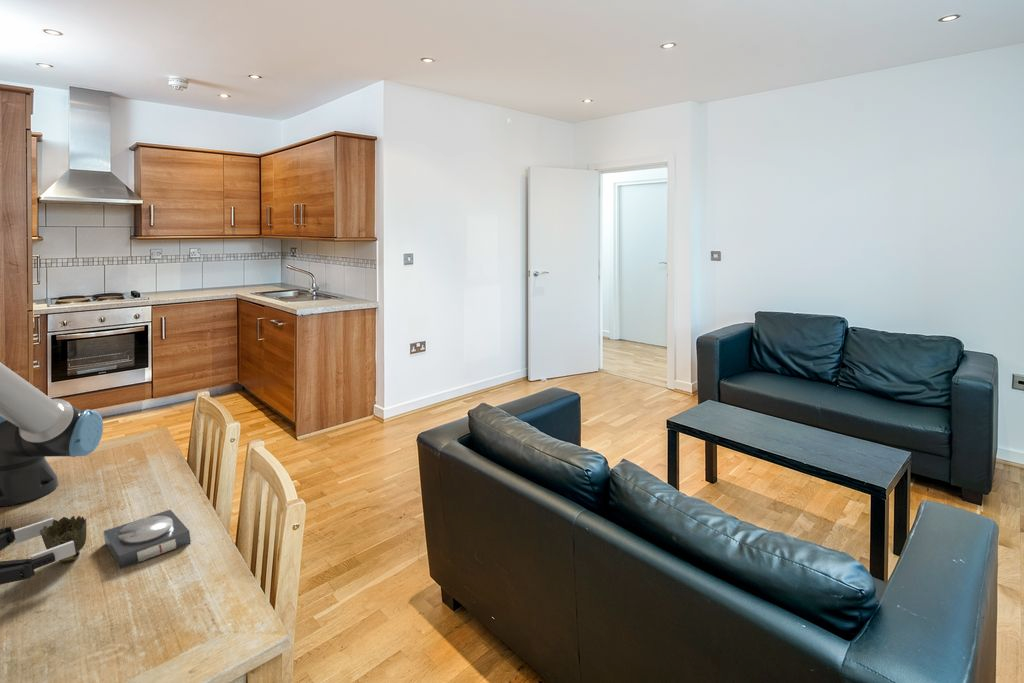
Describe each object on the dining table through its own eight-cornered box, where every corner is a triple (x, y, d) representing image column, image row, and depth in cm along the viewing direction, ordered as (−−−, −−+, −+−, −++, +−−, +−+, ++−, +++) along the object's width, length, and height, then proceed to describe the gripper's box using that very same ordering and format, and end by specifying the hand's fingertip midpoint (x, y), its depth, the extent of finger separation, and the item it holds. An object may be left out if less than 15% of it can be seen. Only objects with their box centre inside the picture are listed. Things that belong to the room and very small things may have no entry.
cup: (66, 572, 111) (60, 536, 109) (36, 567, 112) (30, 532, 110) (100, 551, 118) (95, 517, 116) (72, 546, 119) (66, 513, 117)
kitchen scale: (105, 543, 121) (102, 527, 120) (171, 521, 130) (169, 506, 129) (121, 570, 111) (119, 553, 111) (192, 544, 121) (190, 528, 120)
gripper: (-90, 577, 105) (50, 530, 121) (-71, 638, 90) (86, 575, 107) (-99, 542, 103) (44, 499, 120) (-81, 598, 89) (80, 540, 105)
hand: (64, 535), depth 113 cm, fingers open, 13 cm apart
